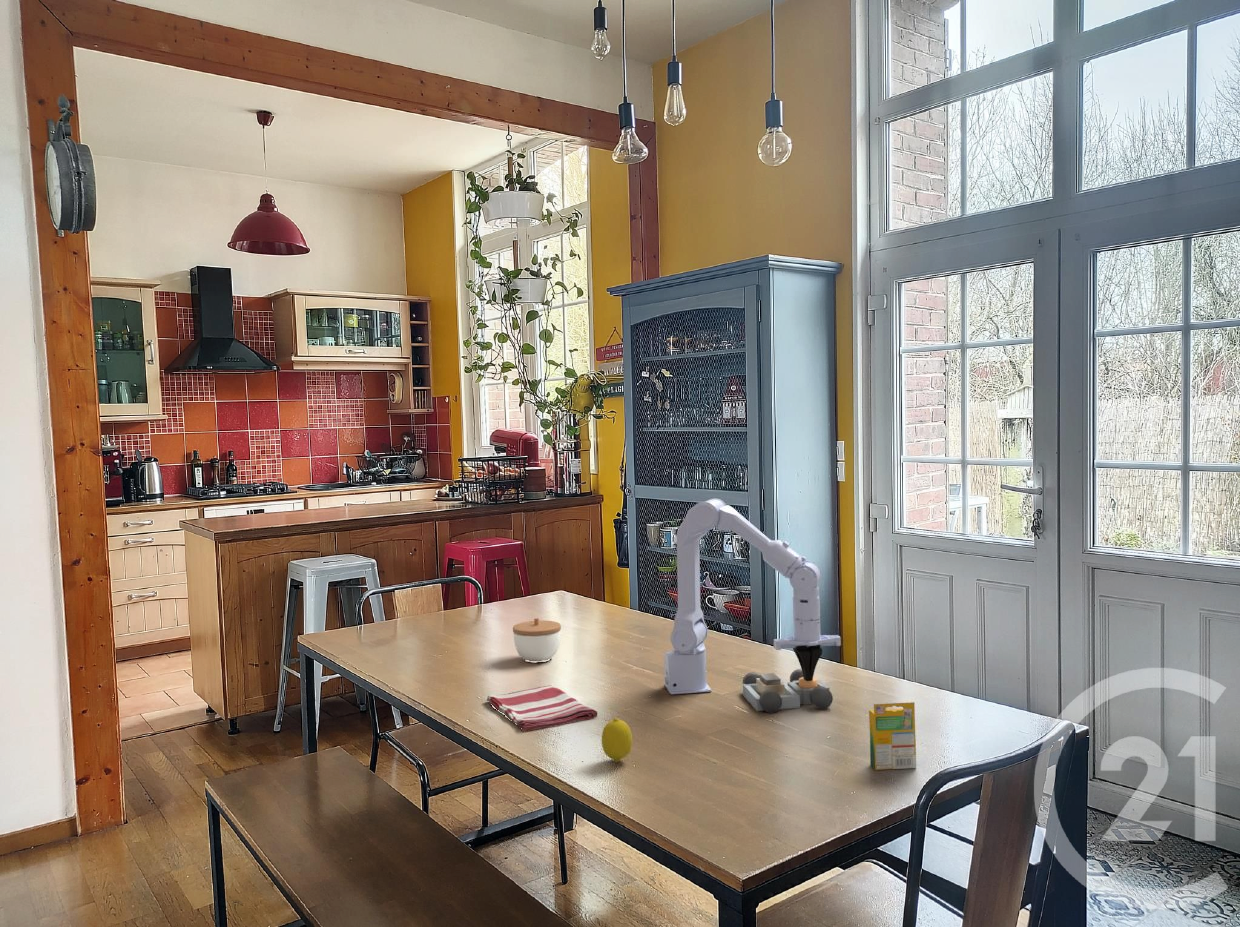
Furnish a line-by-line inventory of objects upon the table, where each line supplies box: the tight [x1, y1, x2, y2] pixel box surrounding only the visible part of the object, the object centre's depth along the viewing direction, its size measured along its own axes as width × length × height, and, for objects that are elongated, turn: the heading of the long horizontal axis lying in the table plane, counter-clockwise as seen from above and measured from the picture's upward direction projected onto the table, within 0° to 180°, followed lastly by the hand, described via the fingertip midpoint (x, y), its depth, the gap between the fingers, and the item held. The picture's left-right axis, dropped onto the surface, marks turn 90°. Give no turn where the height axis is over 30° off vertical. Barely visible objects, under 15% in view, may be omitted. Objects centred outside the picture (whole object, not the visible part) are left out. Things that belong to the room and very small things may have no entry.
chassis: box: [742, 668, 834, 714], centre depth 189 cm, size 17×15×4 cm
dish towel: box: [486, 684, 598, 732], centre depth 189 cm, size 17×23×3 cm
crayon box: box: [868, 701, 917, 771], centre depth 151 cm, size 7×3×12 cm, turn 92°
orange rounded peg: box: [799, 677, 818, 689], centre depth 190 cm, size 4×4×4 cm
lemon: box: [601, 717, 633, 763], centre depth 157 cm, size 6×6×8 cm
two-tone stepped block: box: [756, 672, 785, 696], centre depth 189 cm, size 4×6×6 cm
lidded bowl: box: [512, 617, 562, 661], centre depth 229 cm, size 13×13×11 cm
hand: (808, 679), depth 190 cm, fingers closed, pressing on orange rounded peg
